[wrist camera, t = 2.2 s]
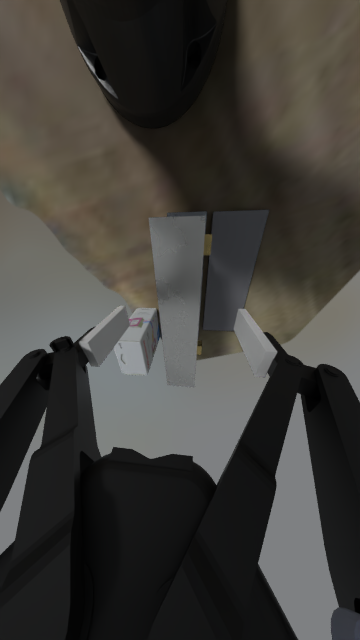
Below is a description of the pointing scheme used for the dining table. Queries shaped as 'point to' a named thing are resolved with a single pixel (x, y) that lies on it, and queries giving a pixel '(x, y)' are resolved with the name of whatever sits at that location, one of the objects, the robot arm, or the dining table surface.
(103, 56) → the robot arm
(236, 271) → the mat
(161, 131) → the dining table surface
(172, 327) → the rail
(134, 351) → the ink box
